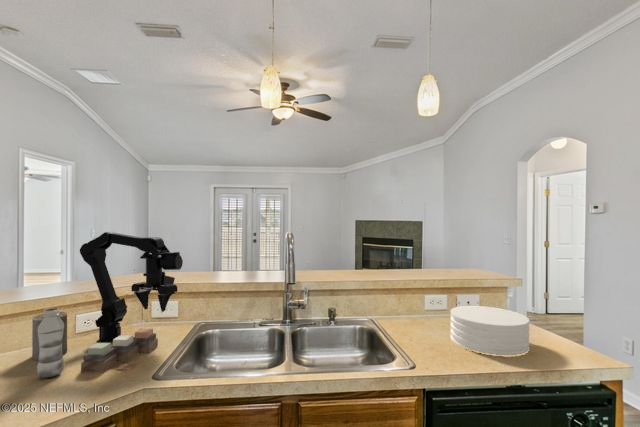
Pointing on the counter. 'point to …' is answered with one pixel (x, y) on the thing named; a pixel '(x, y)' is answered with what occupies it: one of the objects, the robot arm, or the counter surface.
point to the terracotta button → (144, 333)
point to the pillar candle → (35, 338)
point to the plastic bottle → (50, 344)
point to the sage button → (99, 349)
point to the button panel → (119, 355)
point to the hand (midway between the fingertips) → (154, 310)
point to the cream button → (123, 340)
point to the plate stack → (490, 330)
